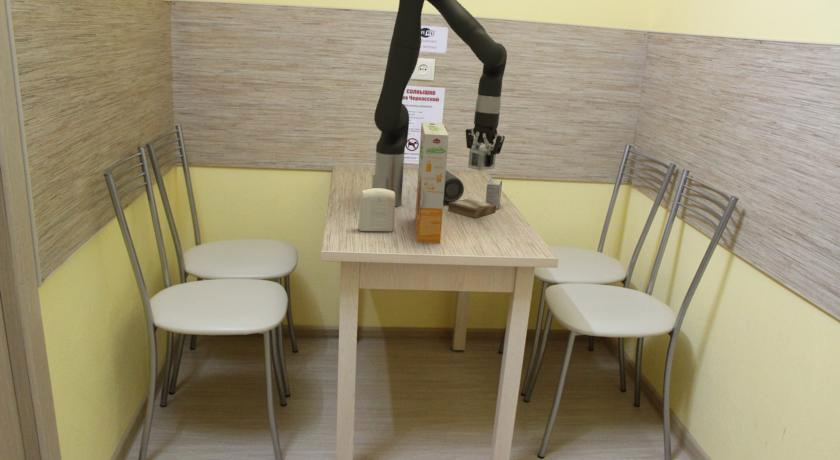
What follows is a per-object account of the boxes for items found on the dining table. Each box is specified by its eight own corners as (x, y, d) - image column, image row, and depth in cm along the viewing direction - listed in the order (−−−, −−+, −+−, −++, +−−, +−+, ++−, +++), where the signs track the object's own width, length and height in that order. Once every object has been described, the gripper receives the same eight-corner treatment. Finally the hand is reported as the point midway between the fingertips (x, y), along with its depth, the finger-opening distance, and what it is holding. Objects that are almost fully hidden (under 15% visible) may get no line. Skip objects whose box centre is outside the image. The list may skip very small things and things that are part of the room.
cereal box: (415, 219, 208) (421, 121, 200) (435, 220, 209) (442, 123, 200) (417, 241, 187) (424, 134, 178) (440, 243, 187) (448, 135, 178)
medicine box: (497, 210, 225) (500, 184, 223) (484, 208, 226) (487, 183, 224) (500, 204, 233) (502, 180, 230) (487, 203, 234) (489, 178, 231)
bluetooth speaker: (464, 205, 229) (466, 176, 226) (438, 205, 226) (441, 176, 223) (439, 188, 249) (441, 162, 246) (416, 189, 246) (417, 162, 243)
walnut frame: (474, 218, 214) (475, 209, 213) (448, 210, 221) (448, 202, 220) (495, 212, 222) (495, 204, 221) (468, 205, 229) (469, 197, 228)
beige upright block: (392, 227, 198) (394, 186, 194) (395, 232, 194) (397, 190, 190) (357, 228, 195) (359, 186, 192) (359, 232, 191) (361, 190, 188)
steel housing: (480, 170, 207) (482, 151, 205) (467, 167, 210) (469, 148, 209) (494, 168, 212) (496, 149, 210) (481, 165, 215) (483, 146, 214)
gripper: (461, 107, 208) (456, 161, 213) (499, 114, 199) (492, 170, 204) (476, 106, 213) (471, 159, 218) (513, 113, 204) (507, 168, 209)
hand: (481, 164), depth 211 cm, fingers closed on steel housing, 5 cm apart
